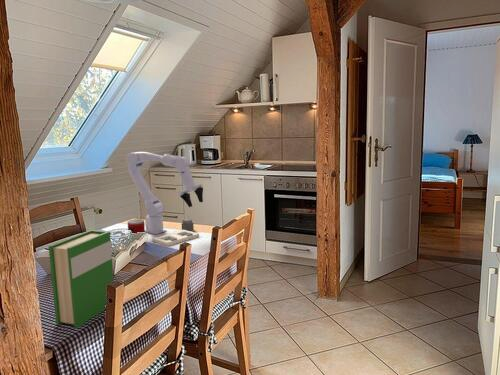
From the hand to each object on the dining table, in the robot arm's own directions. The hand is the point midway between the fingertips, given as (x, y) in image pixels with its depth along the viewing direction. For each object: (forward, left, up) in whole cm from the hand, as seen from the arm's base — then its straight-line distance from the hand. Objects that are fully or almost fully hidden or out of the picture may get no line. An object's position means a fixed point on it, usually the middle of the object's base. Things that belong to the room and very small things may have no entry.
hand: (196, 204), depth 209 cm
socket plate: (-1, -13, -16) cm, 20 cm away
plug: (-9, +1, -16) cm, 18 cm away
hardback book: (+40, -81, -16) cm, 92 cm away
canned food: (-11, -29, -16) cm, 35 cm away
